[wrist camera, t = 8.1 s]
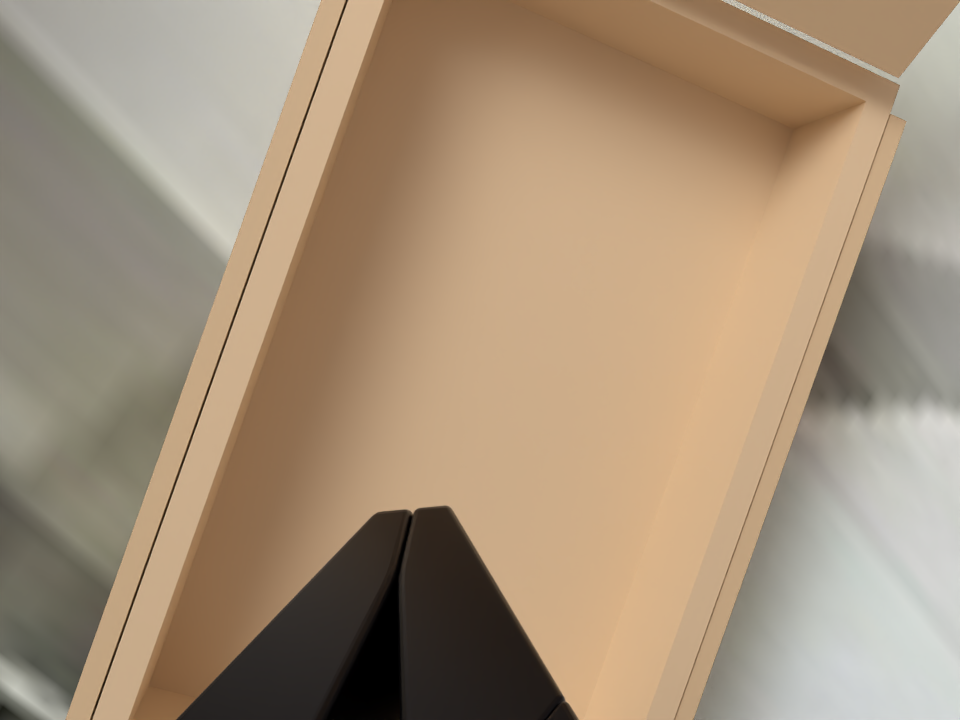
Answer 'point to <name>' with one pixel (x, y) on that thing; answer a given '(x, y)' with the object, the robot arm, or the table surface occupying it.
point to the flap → (864, 26)
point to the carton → (512, 333)
